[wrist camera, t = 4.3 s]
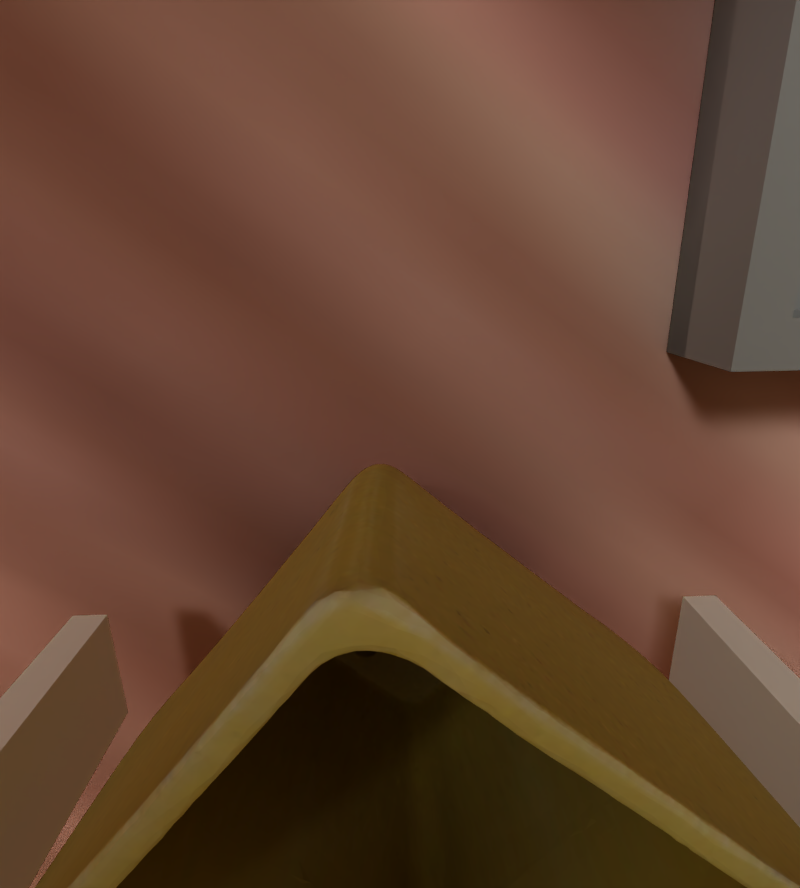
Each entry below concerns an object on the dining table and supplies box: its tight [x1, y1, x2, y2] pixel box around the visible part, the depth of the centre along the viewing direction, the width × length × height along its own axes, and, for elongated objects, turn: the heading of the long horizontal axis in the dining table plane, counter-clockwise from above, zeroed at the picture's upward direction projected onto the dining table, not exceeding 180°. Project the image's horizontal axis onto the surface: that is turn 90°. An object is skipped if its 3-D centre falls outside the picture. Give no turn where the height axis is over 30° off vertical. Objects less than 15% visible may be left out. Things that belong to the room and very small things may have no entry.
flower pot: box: [35, 464, 800, 888], centre depth 11 cm, size 9×9×9 cm
